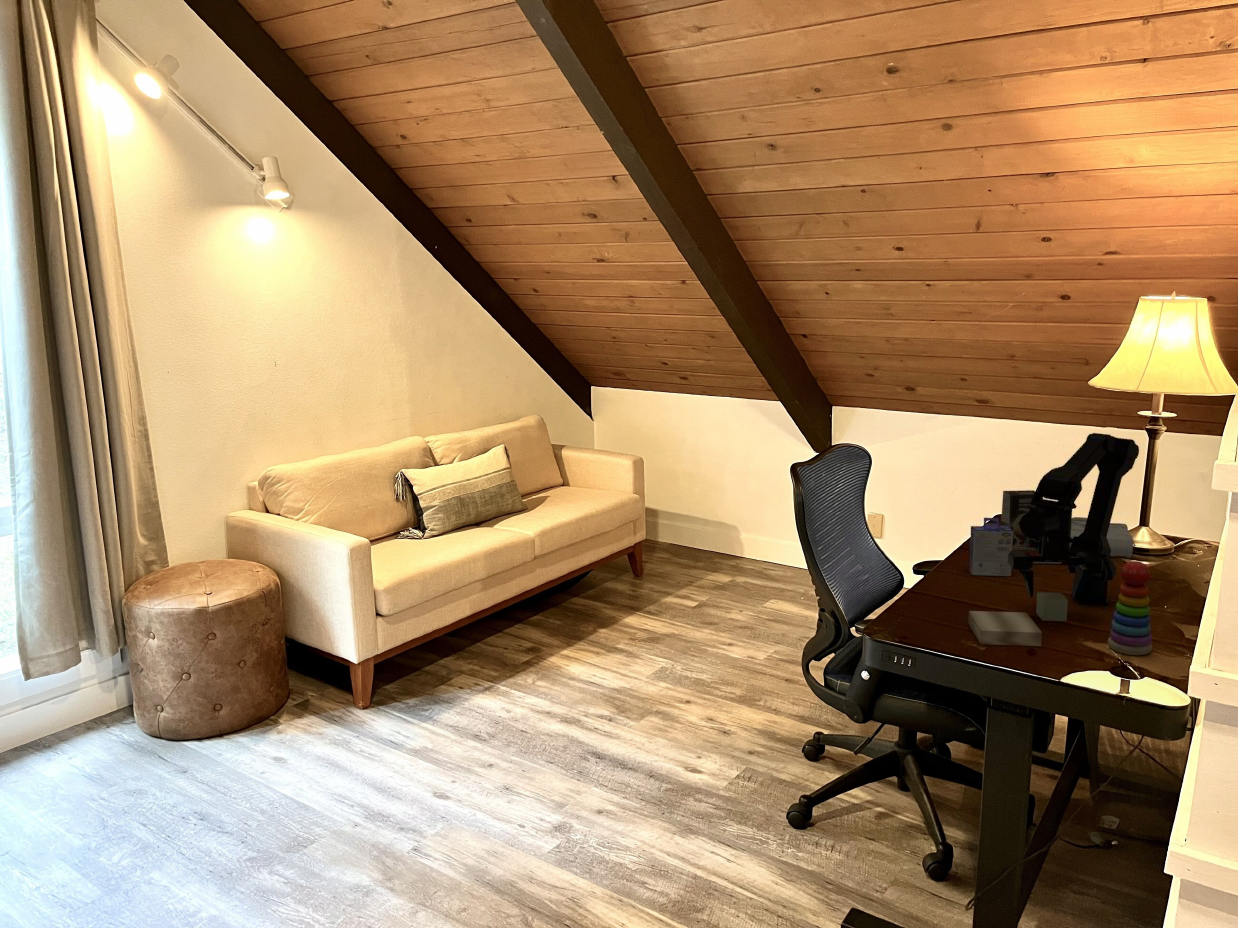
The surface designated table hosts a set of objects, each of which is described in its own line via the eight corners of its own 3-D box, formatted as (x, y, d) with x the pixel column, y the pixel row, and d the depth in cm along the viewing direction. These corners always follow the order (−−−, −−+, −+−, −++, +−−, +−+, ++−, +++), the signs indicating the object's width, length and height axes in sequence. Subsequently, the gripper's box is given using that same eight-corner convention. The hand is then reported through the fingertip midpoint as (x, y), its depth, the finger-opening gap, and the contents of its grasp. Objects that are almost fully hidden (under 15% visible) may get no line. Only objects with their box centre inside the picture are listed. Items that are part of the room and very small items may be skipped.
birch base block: (1025, 625, 201) (1026, 612, 201) (1041, 646, 190) (1041, 632, 189) (968, 623, 203) (968, 610, 203) (980, 644, 192) (981, 630, 191)
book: (1154, 562, 243) (1156, 535, 242) (1039, 554, 254) (1040, 527, 253) (1143, 545, 261) (1145, 519, 260) (1036, 537, 271) (1037, 512, 270)
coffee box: (1008, 551, 257) (1011, 495, 254) (999, 544, 263) (1001, 490, 260) (1040, 550, 257) (1044, 494, 254) (1030, 543, 263) (1033, 489, 260)
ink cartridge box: (1007, 570, 240) (1010, 517, 237) (1012, 577, 234) (1015, 522, 232) (968, 569, 242) (970, 516, 239) (971, 575, 236) (974, 521, 234)
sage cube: (1059, 613, 208) (1060, 592, 207) (1066, 621, 203) (1067, 600, 202) (1036, 613, 209) (1037, 592, 208) (1042, 620, 204) (1043, 599, 203)
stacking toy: (1099, 642, 190) (1105, 556, 187) (1135, 640, 191) (1142, 554, 188) (1122, 657, 183) (1129, 567, 179) (1160, 655, 183) (1168, 565, 180)
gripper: (1089, 521, 209) (1084, 586, 212) (1003, 520, 212) (999, 585, 215) (1106, 534, 198) (1101, 603, 201) (1015, 533, 201) (1012, 601, 204)
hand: (1052, 597), depth 205 cm, fingers open, 9 cm apart
